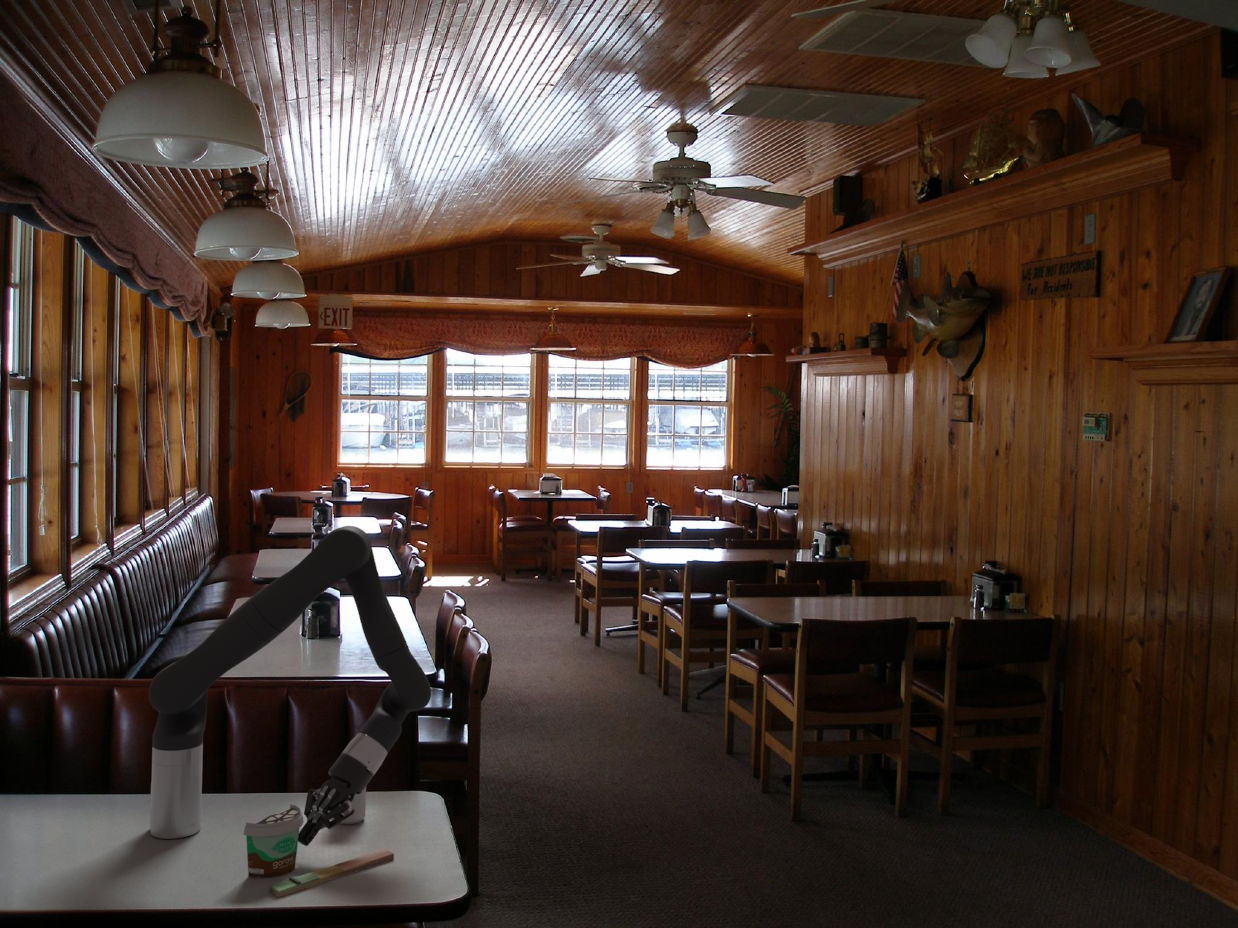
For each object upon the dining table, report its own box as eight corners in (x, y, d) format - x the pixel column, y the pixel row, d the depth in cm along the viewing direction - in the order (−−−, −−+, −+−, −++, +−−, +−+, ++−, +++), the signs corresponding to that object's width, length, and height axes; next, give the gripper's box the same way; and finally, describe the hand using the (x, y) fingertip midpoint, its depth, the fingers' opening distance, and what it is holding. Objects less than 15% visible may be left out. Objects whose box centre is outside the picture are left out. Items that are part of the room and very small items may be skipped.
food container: (268, 886, 186) (270, 829, 186) (242, 879, 189) (243, 823, 189) (316, 862, 198) (318, 808, 197) (291, 855, 200) (292, 802, 200)
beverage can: (356, 826, 216) (358, 768, 216) (327, 823, 217) (329, 765, 217) (370, 816, 222) (372, 759, 222) (341, 813, 224) (343, 756, 223)
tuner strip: (269, 891, 184) (269, 883, 184) (384, 854, 202) (384, 846, 202) (278, 896, 182) (278, 888, 182) (393, 859, 200) (393, 851, 200)
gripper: (327, 744, 208) (269, 822, 199) (367, 759, 199) (308, 842, 190) (349, 766, 212) (293, 843, 203) (390, 781, 203) (333, 863, 194)
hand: (301, 842), depth 197 cm, fingers closed
